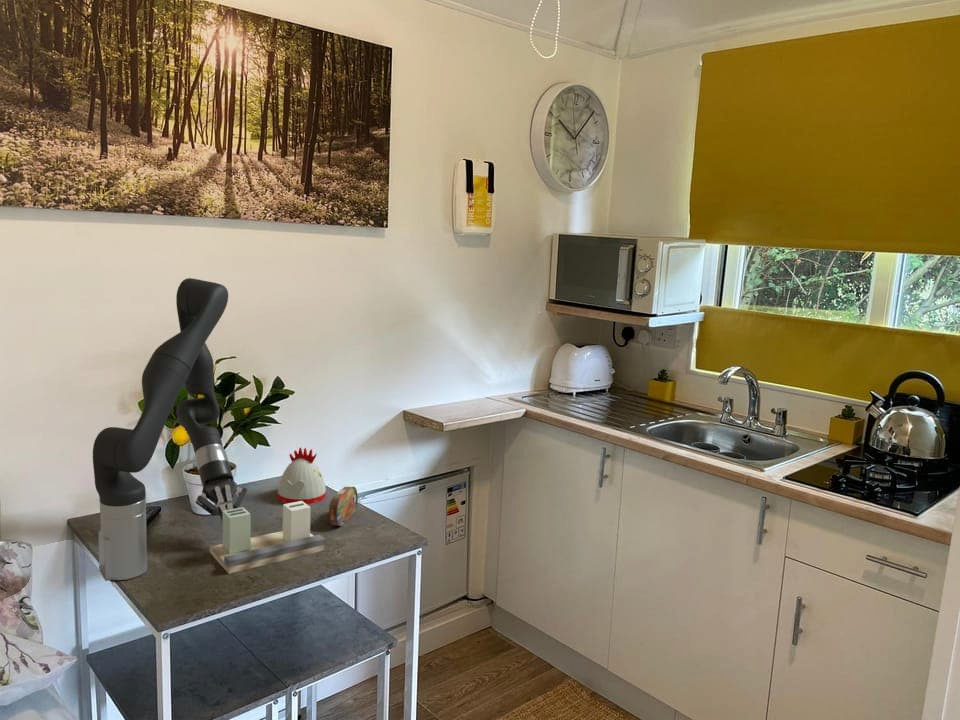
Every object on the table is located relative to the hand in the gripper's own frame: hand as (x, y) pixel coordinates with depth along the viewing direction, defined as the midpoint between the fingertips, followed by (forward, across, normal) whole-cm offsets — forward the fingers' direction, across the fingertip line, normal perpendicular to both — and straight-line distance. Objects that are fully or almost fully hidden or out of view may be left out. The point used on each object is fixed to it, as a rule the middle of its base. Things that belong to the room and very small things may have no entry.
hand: (230, 527), depth 178 cm
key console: (+8, +7, -1) cm, 11 cm away
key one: (+8, +14, -2) cm, 16 cm away
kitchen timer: (-13, +30, +21) cm, 39 cm away
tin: (+2, +32, +6) cm, 33 cm away
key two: (+5, 0, 0) cm, 5 cm away
